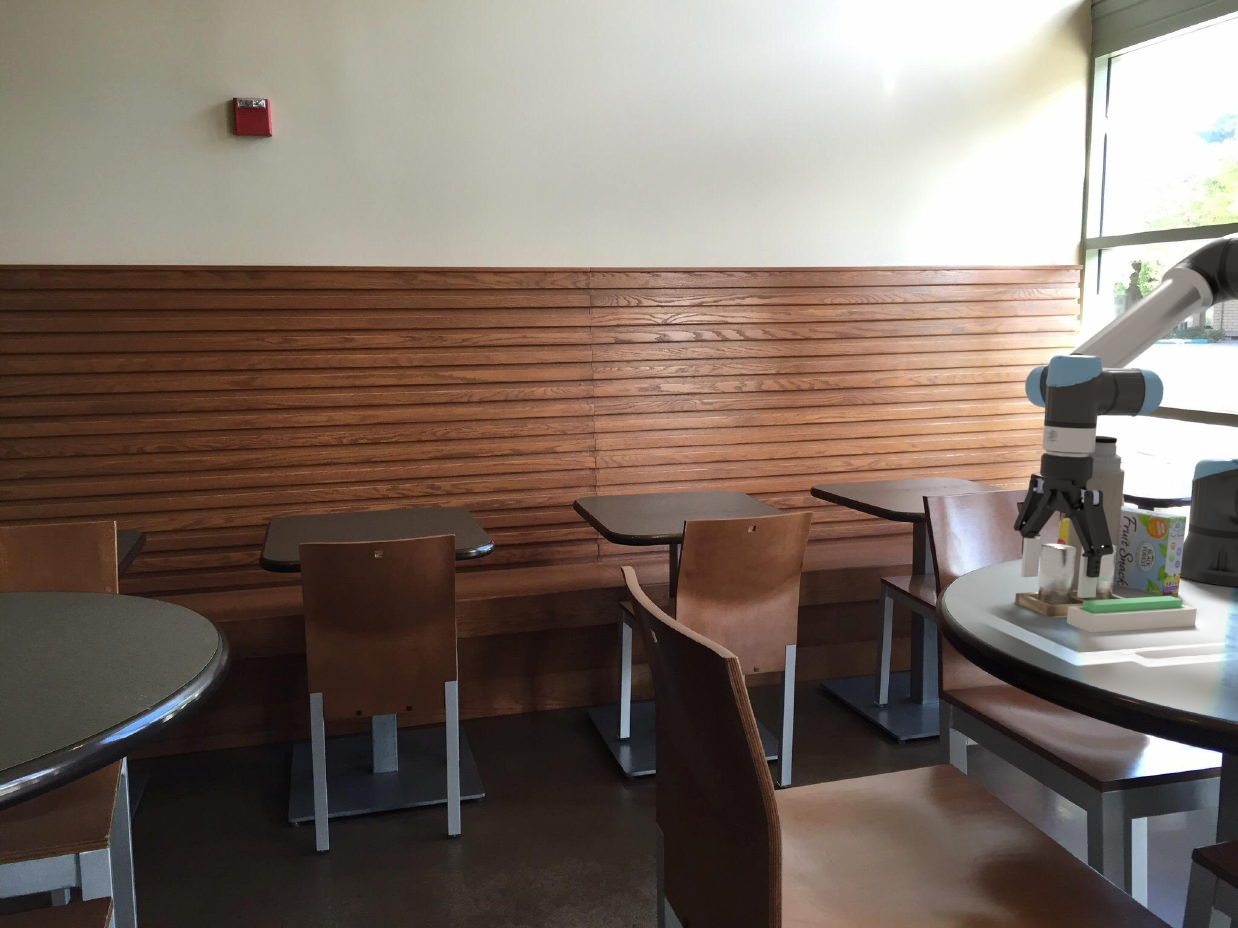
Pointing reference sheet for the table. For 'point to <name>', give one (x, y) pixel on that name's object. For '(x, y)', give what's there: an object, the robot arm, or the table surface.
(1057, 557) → the billet
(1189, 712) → the table surface
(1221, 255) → the robot arm
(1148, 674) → the table surface
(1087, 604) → the green rectangular bar
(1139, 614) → the housing
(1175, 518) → the snack box
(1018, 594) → the wooden divided tray
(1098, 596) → the cylinder
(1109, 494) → the thermos bottle
